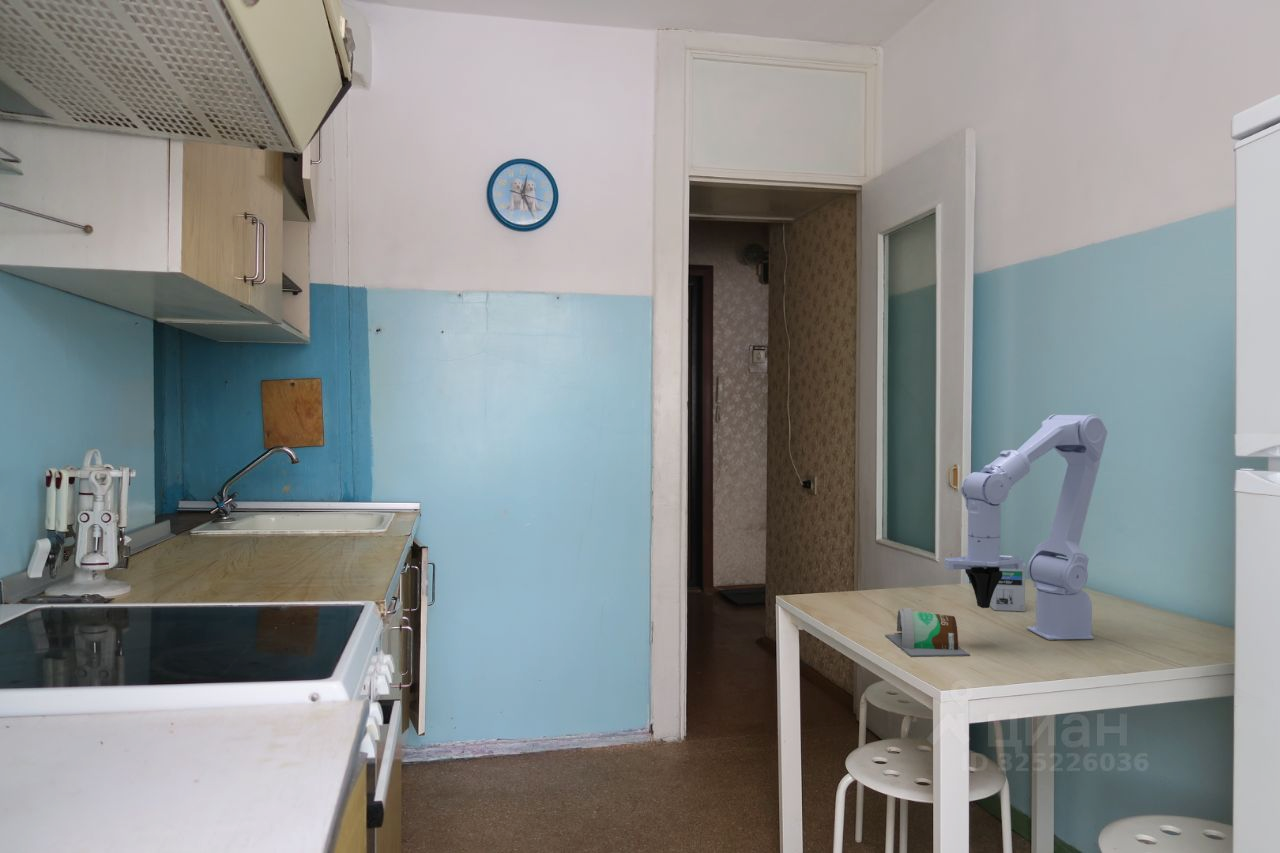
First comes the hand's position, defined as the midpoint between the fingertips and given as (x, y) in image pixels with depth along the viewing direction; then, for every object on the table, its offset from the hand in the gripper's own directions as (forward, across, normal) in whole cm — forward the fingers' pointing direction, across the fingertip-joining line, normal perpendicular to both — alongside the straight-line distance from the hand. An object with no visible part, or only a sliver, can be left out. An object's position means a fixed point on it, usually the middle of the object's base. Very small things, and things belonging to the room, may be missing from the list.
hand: (983, 606), depth 154 cm
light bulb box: (+8, +19, +29) cm, 35 cm away
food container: (+4, -5, 0) cm, 7 cm away
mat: (+7, -11, 0) cm, 13 cm away
